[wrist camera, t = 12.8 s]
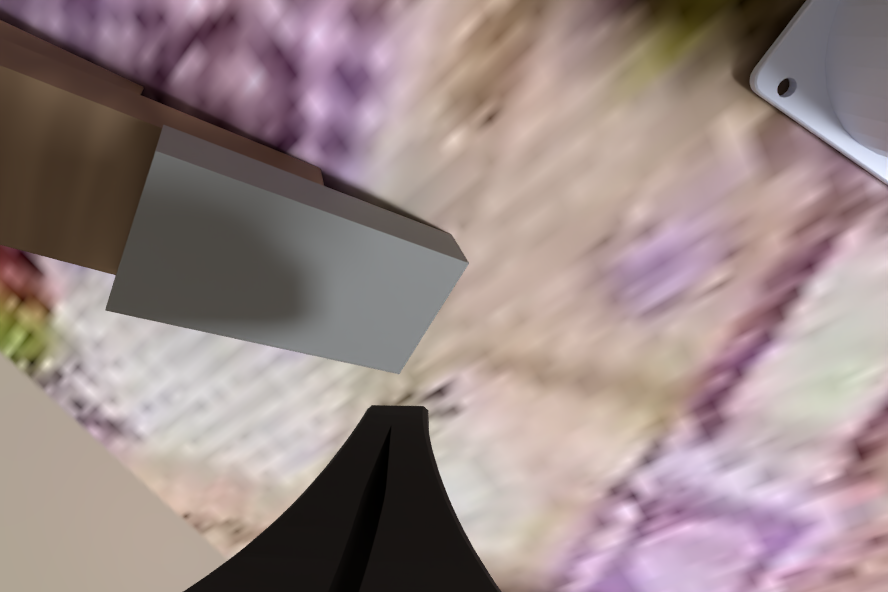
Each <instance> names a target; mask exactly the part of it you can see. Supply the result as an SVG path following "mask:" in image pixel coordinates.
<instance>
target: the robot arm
mask: <svg viewBox="0 0 888 592" xmlns="http://www.w3.org/2000/svg"><path fill="white" fill-rule="evenodd" d="M785 78H788V80H789V88H788V90H787V92H785V93H784V94H783V95H780V96H779V94H778V93H777V87H778V85H779V83H780V82H781V81H782V80H784V79H785ZM750 86H751V89H752V90H753V91H754V92H755V93H756V94H757V95H759V96H760V97H762V98H763V99H764V100H766V101H767V102H769V103H770V104H772V105H773V106H774V107H776V108H777V109H779V110H780V111H782V112H783V113H785V114H786V115H787V116H789V117H790V118H792V119H793V120H795V121H796V122H797V123H799V124H800V125H802V126H803V127H805V128H806V129H807V130H809V131H810V132H812V133H813V134H815V135H816V136H818V137H819V138H820V139H822V140H823V141H825V142H826V143H828V144H829V145H830V146H832V147H833V148H835V149H836V150H838V151H839V152H840V153H842V154H843V155H845V156H846V157H848V158H849V159H851V160H852V161H853V162H855V163H856V164H858V165H859V166H861V167H862V168H863V169H865V170H866V171H868V172H869V173H871V174H872V175H874V176H875V177H876V178H878V179H879V180H881V181H882V182H884V183H885V184H886V185H888V0H806V1H805V3H804V4H803V5H802V7H801V8H800V9H799V10H798V12H797V13H796V14H795V16H794V17H793V18H792V20H791V21H790V22H789V23H788V25H787V26H786V27H785V29H784V30H783V31H782V33H781V34H780V35H779V36H778V38H777V39H776V40H775V42H774V43H773V44H772V46H771V47H770V48H769V49H768V51H767V52H766V53H765V55H764V56H763V57H762V58H761V60H760V61H759V62H758V64H757V65H756V66H755V68H754V69H753V71H752V73H751V75H750ZM184 592H501V590H500V589H499V588H498V586H497V585H496V583H495V582H494V580H493V579H492V577H491V576H490V574H489V572H488V571H487V569H486V568H485V566H484V564H483V563H482V561H481V560H480V558H479V556H478V555H477V553H476V552H475V550H474V548H473V547H472V545H471V543H470V541H469V539H468V537H467V535H466V534H465V532H464V530H463V528H462V526H461V524H460V522H459V520H458V518H457V516H456V513H455V511H454V509H453V507H452V505H451V502H450V500H449V497H448V495H447V492H446V490H445V487H444V485H443V482H442V479H441V476H440V474H439V471H438V467H437V464H436V461H435V457H434V454H433V450H432V446H431V442H430V437H429V420H428V410H427V409H426V408H425V407H424V406H379V405H372V406H371V407H370V408H368V409H367V411H366V413H365V414H364V416H363V417H362V419H361V420H360V422H359V423H358V425H357V426H356V428H355V429H354V431H353V432H352V434H351V435H350V436H349V438H348V439H347V440H346V442H345V443H344V445H343V446H342V447H341V448H340V450H339V451H338V452H337V454H336V455H335V456H334V457H333V459H332V460H331V461H330V463H329V464H328V465H327V466H326V467H325V469H324V470H323V471H322V472H321V473H320V474H319V476H318V477H317V478H316V479H315V480H314V481H313V482H312V484H311V485H310V486H309V487H308V488H307V489H306V490H305V492H304V493H303V494H302V495H301V496H300V497H299V498H298V499H297V500H296V501H295V502H294V503H293V504H292V505H291V506H290V507H289V508H288V509H287V510H286V511H285V512H284V513H283V514H282V515H281V516H280V517H279V518H278V519H277V520H276V521H275V522H273V523H272V524H271V525H270V526H269V527H268V528H267V529H266V530H264V531H263V532H262V533H261V534H260V535H259V536H257V537H256V538H255V539H254V540H253V541H252V542H251V543H249V544H248V545H247V546H246V547H245V548H243V549H242V550H241V551H240V552H238V553H237V554H236V555H235V556H233V557H232V558H231V559H229V560H228V561H226V562H225V563H224V564H222V565H221V566H220V567H218V568H217V569H216V570H214V571H213V572H211V573H210V574H209V575H207V576H206V577H205V578H203V579H201V580H200V581H199V582H197V583H196V584H194V585H193V586H191V587H190V588H188V589H187V590H185V591H184Z"/></svg>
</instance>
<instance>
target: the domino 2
mask: <svg viewBox="0 0 888 592" xmlns="http://www.w3.org/2000/svg"><path fill="white" fill-rule="evenodd" d="M468 264H469V262H468V261H467V259H466V257H465V256H464V254H463V252H462V251H461V249H460V248H459V246H458V244H457V243H456V241H455V239H454V238H453V236H452V235H451V234H448V233H446V232H443V231H440V230H438V229H435V228H433V227H430V226H427V225H425V224H422V223H420V222H417V221H414V220H412V219H409V218H406V217H404V216H401V215H399V214H396V213H393V212H391V211H388V210H386V209H383V208H380V207H378V206H375V205H372V204H370V203H367V202H365V201H362V200H359V199H357V198H354V197H352V196H349V195H346V194H344V193H341V192H339V191H336V190H333V189H331V188H328V187H325V186H323V185H320V184H318V183H315V182H312V181H310V180H307V179H305V178H302V177H299V176H297V175H294V174H292V173H289V172H286V171H284V170H281V169H278V168H276V167H273V166H271V165H268V164H265V163H263V162H260V161H258V160H255V159H252V158H250V157H247V156H244V155H242V154H239V153H237V152H234V151H231V150H229V149H226V148H224V147H221V146H218V145H216V144H213V143H211V142H208V141H205V140H203V139H200V138H197V137H195V136H192V135H190V134H187V133H184V132H182V131H179V130H177V129H174V128H171V127H169V126H166V125H163V128H162V131H161V134H160V137H159V140H158V144H157V147H156V150H155V153H154V156H153V159H152V163H151V166H150V169H149V172H148V175H147V178H146V182H145V185H144V188H143V191H142V194H141V197H140V201H139V204H138V207H137V210H136V213H135V216H134V220H133V223H132V226H131V229H130V232H129V235H128V239H127V242H126V245H125V248H124V251H123V254H122V257H121V261H120V264H119V267H118V270H117V273H116V277H115V280H114V283H113V286H112V290H111V293H110V296H109V300H108V303H107V306H106V309H105V310H106V311H111V312H115V313H120V314H124V315H129V316H134V317H138V318H143V319H147V320H152V321H157V322H161V323H166V324H171V325H175V326H180V327H184V328H189V329H194V330H198V331H203V332H207V333H212V334H217V335H221V336H226V337H230V338H235V339H240V340H244V341H249V342H253V343H258V344H263V345H267V346H272V347H276V348H281V349H286V350H290V351H295V352H300V353H304V354H309V355H313V356H318V357H323V358H327V359H332V360H336V361H341V362H346V363H350V364H355V365H359V366H364V367H369V368H373V369H378V370H382V371H387V372H392V373H396V374H400V372H401V370H402V369H403V367H404V366H405V364H406V362H407V361H408V359H409V358H410V356H411V354H412V353H413V351H414V350H415V348H416V347H417V345H418V343H419V342H420V340H421V339H422V337H423V335H424V334H425V332H426V331H427V329H428V327H429V326H430V324H431V323H432V321H433V320H434V318H435V316H436V315H437V313H438V312H439V310H440V308H441V307H442V305H443V304H444V302H445V300H446V299H447V297H448V296H449V294H450V293H451V291H452V289H453V288H454V286H455V285H456V283H457V281H458V280H459V278H460V277H461V275H462V273H463V272H464V270H465V269H466V267H467V265H468Z"/></svg>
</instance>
